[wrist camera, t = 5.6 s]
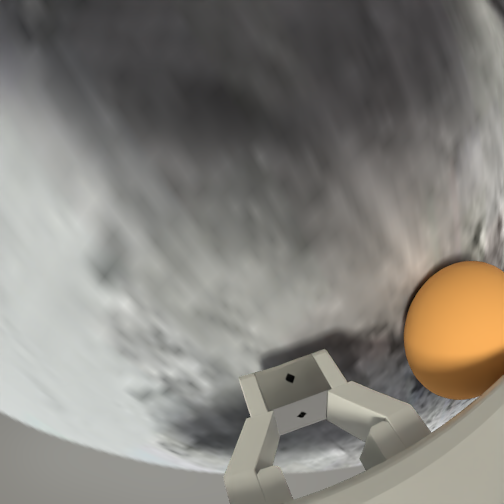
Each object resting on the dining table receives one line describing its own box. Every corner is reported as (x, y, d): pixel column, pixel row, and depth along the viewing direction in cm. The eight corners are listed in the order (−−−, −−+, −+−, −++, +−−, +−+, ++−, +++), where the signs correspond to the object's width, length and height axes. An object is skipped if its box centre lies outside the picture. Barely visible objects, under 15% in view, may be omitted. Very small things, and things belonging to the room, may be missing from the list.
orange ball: (471, 225, 11) (564, 282, 6) (451, 318, 13) (516, 379, 8) (383, 260, 10) (497, 357, 5) (372, 362, 13) (438, 448, 8)
